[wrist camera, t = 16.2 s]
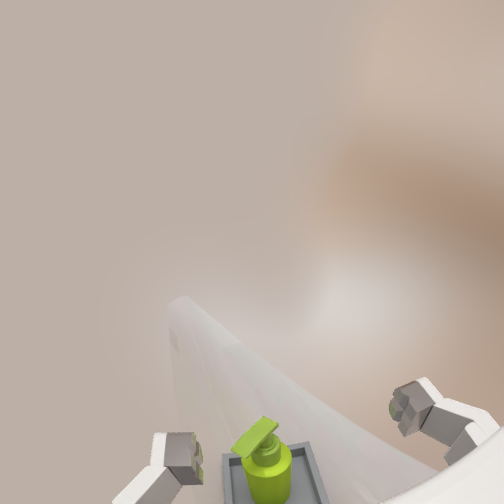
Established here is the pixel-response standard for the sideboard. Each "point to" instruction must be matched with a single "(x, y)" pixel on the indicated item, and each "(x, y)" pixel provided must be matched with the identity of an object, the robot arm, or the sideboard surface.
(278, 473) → the soap dispenser
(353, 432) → the sideboard surface
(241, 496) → the dish
